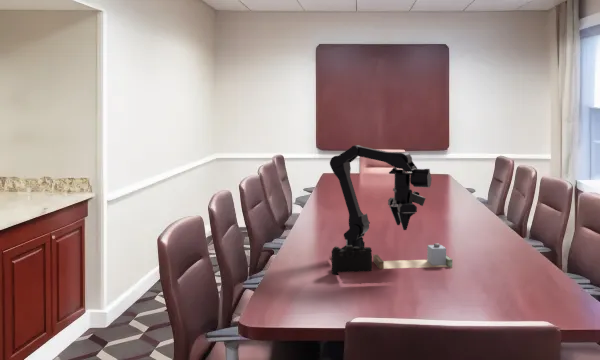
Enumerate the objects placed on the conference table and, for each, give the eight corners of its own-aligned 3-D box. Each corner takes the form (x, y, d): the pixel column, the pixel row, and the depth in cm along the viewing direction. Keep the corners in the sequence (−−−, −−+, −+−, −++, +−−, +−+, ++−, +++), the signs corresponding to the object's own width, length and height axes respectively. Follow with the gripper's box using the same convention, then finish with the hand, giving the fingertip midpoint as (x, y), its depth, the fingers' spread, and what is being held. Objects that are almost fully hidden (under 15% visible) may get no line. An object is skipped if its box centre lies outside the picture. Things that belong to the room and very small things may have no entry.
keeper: (432, 265, 197) (432, 246, 196) (427, 261, 202) (427, 242, 201) (445, 264, 197) (446, 245, 196) (440, 260, 203) (441, 242, 202)
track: (379, 271, 193) (379, 261, 193) (373, 263, 203) (373, 254, 203) (452, 269, 195) (452, 259, 195) (442, 261, 205) (442, 252, 205)
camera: (368, 266, 200) (368, 239, 199) (373, 275, 190) (373, 246, 188) (329, 267, 200) (329, 239, 198) (332, 275, 189) (332, 247, 188)
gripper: (431, 189, 198) (430, 232, 200) (416, 182, 217) (415, 222, 218) (400, 189, 197) (400, 232, 199) (388, 183, 216) (387, 222, 218)
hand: (401, 227), depth 209 cm, fingers open, 9 cm apart
